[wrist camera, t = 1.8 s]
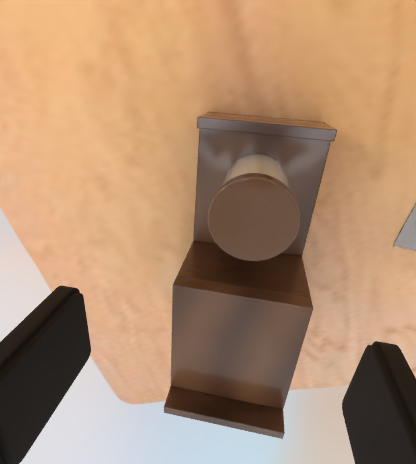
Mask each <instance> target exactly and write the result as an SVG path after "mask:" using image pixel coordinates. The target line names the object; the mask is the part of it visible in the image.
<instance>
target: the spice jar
mask: <svg viewBox="0 0 416 464" xmlns="http://www.w3.org/2000/svg"><path fill="white" fill-rule="evenodd" d="M299 225H300V214H299V209H298V206H297V202H296V199H295V197H294V195H293V194H292V192H291V189H290V185H289V181H288V177H287V174H286V172H285V170H284V168H283V167H282V165H281V164H280V163H279V162H278V161H276V160H275V159H273V158H271V157H269V156H266V155H262V154H252V155H247V156H245V157H242V158H240V159H239V160H237V161H236V162H235V163H234V164H233V165H232V166H231V167H230V169H229V170H228V172H227V174H226V177H225V179H224V181H223V183H222V186H221V187H220V189H219V190H218V191H217V193H216V194H215V196H214V198H213V200H212V202H211V204H210V207H209V211H208V226H209V230H210V233H211V235H212V237H213V239H214V241H215V242H216V243H217V245H218V246H219V247H220V248H221V249H222V250H224V251H225V252H226V253H228V254H229V255H231V256H233V257H236V258H238V259H242V260H247V261H261V260H266V259H270V258H273V257H275V256H277V255H279V254H280V253H282V252H283V251H285V250H286V249H287V248H288V247H289V246H290V245H291V243H292V242H293V241H294V239H295V237H296V235H297V233H298V230H299Z"/></svg>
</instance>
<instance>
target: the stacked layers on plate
mask: <svg viewBox="0 0 416 464" xmlns="http://www.w3.org/2000/svg"><path fill="white" fill-rule="evenodd" d="M393 246H398V247H402V248H406V249H411V250H415V251H416V205H415V207H414V209H413V211H412V212H411V214H410V216H409V218H408V220H407V221H406V223H405V225H404V227H403V229H402V231H401V232H400V234H399V236H398V238H397V240H396V242H395V243H394V245H393Z"/></svg>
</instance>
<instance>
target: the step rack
mask: <svg viewBox="0 0 416 464" xmlns="http://www.w3.org/2000/svg"><path fill="white" fill-rule="evenodd" d="M197 128H200V130H199V148H198V166H197V185H196V203H195V221H194V239H193V240H194V241H193V243H192V245H191V247H190V249H189V251H188V254H187V256H186V258H185V260H184V262H183V264H182V266H181V269H180V271H179V273H178V275H177V277H176V279H175V282H174V284H173V301H172V350H171V387H170V390H169V393H168V396H167V399H166V402H165V406H164V413H169V414H173V415H177V416H182V417H187V418H191V419H195V420H200V421H205V422H209V423H214V424H219V425H223V426H227V427H232V428H236V429H241V430H245V431H250V432H255V433H259V434H263V435H268V436H272V437H277V438H281V439H282V438H283V436H284V417H283V408H284V404H285V400H286V398H287V394H288V391H289V388H290V384H291V381H292V378H293V374H294V371H295V368H296V364H297V361H298V358H299V354H300V351H301V347H302V344H303V341H304V337H305V334H306V331H307V327H308V324H309V321H310V317H311V314H312V311H313V305H312V301H311V296H310V292H309V287H308V283H307V278H306V273H305V269H304V264H303V260H302V254H303V250H304V246H305V242H306V238H307V234H308V230H309V226H310V222H311V218H312V214H313V210H314V206H315V202H316V198H317V194H318V190H319V186H320V182H321V178H322V174H323V170H324V166H325V162H326V158H327V154H328V150H329V146H330V142H331V141H334V140H335V136H336V132H337V130H336V129H334V128H332V127H331V126H329V125H327V124H326V123H324V122H313V121H302V120H291V119H280V118H269V117H258V116H247V115H236V114H225V113H214V112H208V113H206V114H204V115H201V116H199V117H198V119H197ZM252 154H262V155H266V156H269V157H271V158H273V159H275V160H276V161H278V162H279V163H280V164H281V165H282V167H283V168H284V170H285V172H286V174H287V177H288V181H289V185H290V189H291V192H292V194H293V195H294V197H295V199H296V202H297V206H298V209H299V214H300V225H299V230H298V233H297V235H296V237H295V239H294V241H293V242H292V243H291V245H290V246H289V247H288V248H287V249H286V250H285V251H283V252H282V253H280V254H279V255H277V256H275V257H273V258H270V259H266V260H261V261H247V260H242V259H238V258H236V257H233V256H231V255H229V254H228V253H226V252H225V251H224V250H222V249H221V248H220V247H219V246H218V245H217V243H216V242H215V241H214V239H213V237H212V235H211V233H210V230H209V226H208V211H209V207H210V204H211V202H212V200H213V198H214V196H215V194H216V193H217V191H218V190H219V189H220V187H221V186H222V183H223V181H224V179H225V177H226V174H227V172H228V170H229V169H230V167H231V166H232V165H233V164H234V163H235V162H236V161H237V160H239V159H240V158H242V157H245V156H247V155H252Z"/></svg>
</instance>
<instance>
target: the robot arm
mask: <svg viewBox="0 0 416 464" xmlns="http://www.w3.org/2000/svg"><path fill="white" fill-rule="evenodd" d="M90 353H91V346H90V339H89V332H88V325H87V318H86V312H85V305H84V298H83V295H82V294H81V293H80V292H79V290H78V289H77V288H72V287H66V286H59V287H57V288H56V289H55V290H54V291H53V292H52V293H51V294H50V295H49V296H48V297H47V298H46V299H45V300H44V301H43V302H42V303H41V304H39V305H38V306H37V307H36V308H35V309H34V310H33V311H32V312H31V313H30V314H29V315H28V316H27V317H26V318H25V319H24V320H23V321H22V322H21V323H20V324H19V325H18V326H17V327H16V328H15V329H14V330H13V331H11V332H10V333H9V334H8V335H7V336H6V337H5V338H4V339H3V340H2V341H1V342H0V464H19V463H20V462H21V461H22V459H23V458H24V457H25V455H26V454H27V452H28V451H29V449H30V448H31V446H32V445H33V443H34V442H35V440H36V438H37V437H38V435H39V434H40V432H41V431H42V429H43V428H44V426H45V425H46V423H47V422H48V420H49V419H50V417H51V415H52V414H53V412H54V411H55V409H56V408H57V406H58V405H59V403H60V402H61V400H62V399H63V397H64V395H65V394H66V392H67V391H68V389H69V388H70V386H71V385H72V383H73V382H74V380H75V379H76V377H77V375H78V374H79V372H80V371H81V369H82V368H83V366H84V365H85V363H86V362H87V360H88V358H89V356H90ZM342 409H343V415H344V418H345V423H346V427H347V431H348V435H349V440H350V444H351V448H352V452H353V456H354V460H355V464H416V378H415V376H414V374H413V373H412V371H411V369H410V367H409V365H408V363H407V361H406V359H405V357H404V355H403V353H402V352H401V350H400V348H399V347H398V346H397V345H394V344H389V343H383V342H377V341H375V342H374V343H373V344H372V345H368V346H367V347H366V349H365V351H364V353H363V356H362V358H361V360H360V362H359V365H358V367H357V369H356V371H355V374H354V376H353V378H352V381H351V383H350V385H349V388H348V390H347V392H346V394H345V397H344V399H343V403H342Z"/></svg>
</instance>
